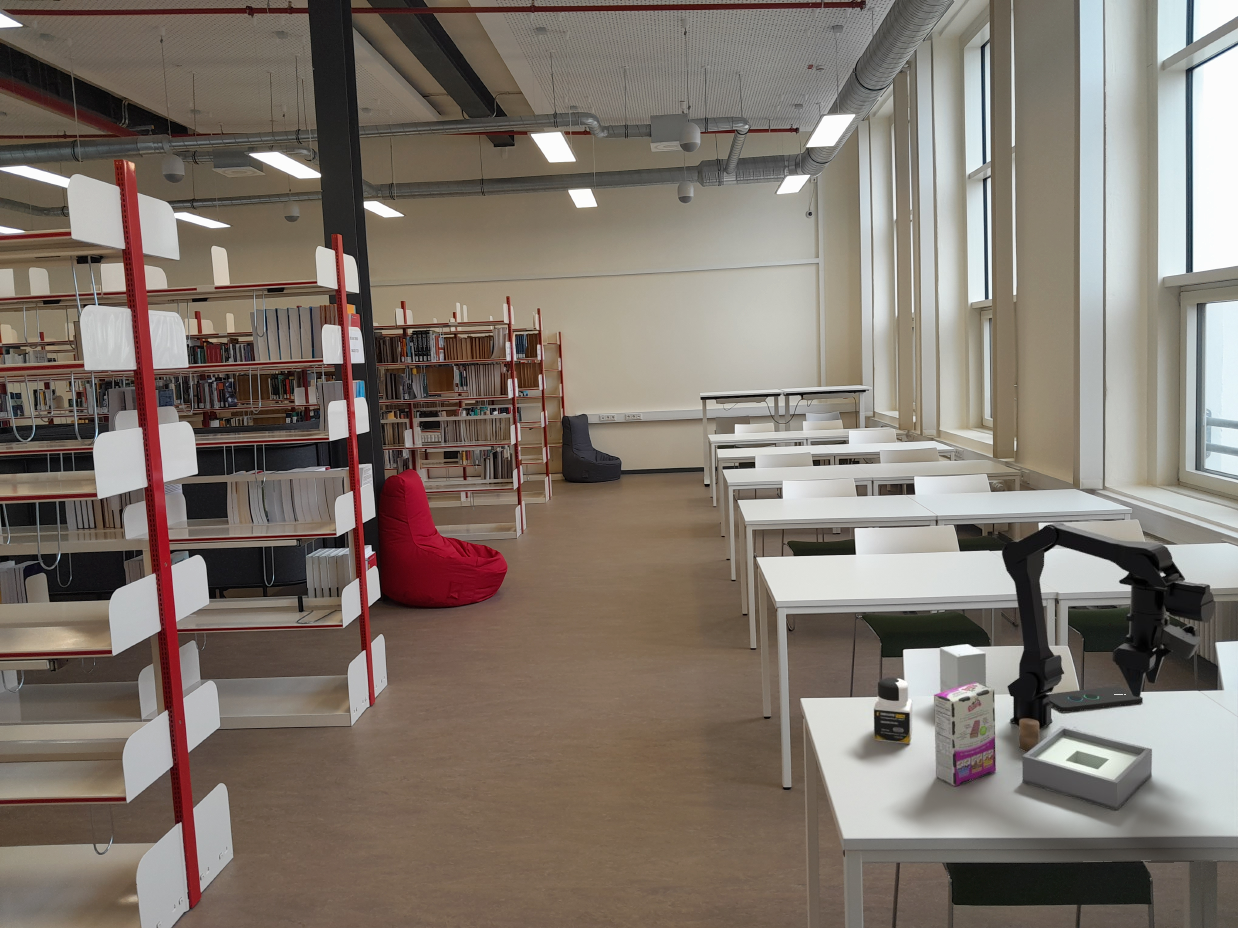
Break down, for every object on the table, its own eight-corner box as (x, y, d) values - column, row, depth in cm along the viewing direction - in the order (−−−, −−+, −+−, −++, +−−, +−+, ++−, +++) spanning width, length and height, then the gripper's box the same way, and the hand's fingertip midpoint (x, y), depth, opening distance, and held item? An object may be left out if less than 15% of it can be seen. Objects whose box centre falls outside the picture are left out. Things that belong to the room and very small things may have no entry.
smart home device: (1039, 693, 202) (1117, 684, 205) (1039, 701, 202) (1117, 692, 205) (1062, 707, 194) (1144, 697, 197) (1062, 714, 194) (1144, 705, 197)
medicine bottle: (874, 740, 184) (873, 684, 183) (877, 727, 191) (876, 673, 190) (910, 744, 182) (909, 688, 180) (912, 730, 188) (912, 676, 187)
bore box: (1022, 781, 164) (1022, 755, 163) (1061, 750, 176) (1061, 725, 175) (1116, 810, 152) (1117, 782, 152) (1151, 774, 164) (1151, 748, 164)
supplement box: (987, 707, 199) (987, 652, 197) (957, 711, 197) (956, 656, 196) (968, 696, 206) (968, 643, 205) (939, 699, 205) (938, 646, 203)
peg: (1016, 748, 178) (1016, 722, 177) (1023, 742, 180) (1023, 716, 179) (1034, 753, 175) (1034, 726, 174) (1042, 747, 177) (1042, 721, 177)
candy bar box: (975, 762, 172) (974, 680, 171) (996, 772, 168) (996, 688, 166) (933, 776, 167) (932, 692, 166) (954, 787, 163) (954, 701, 161)
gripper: (1182, 630, 156) (1178, 715, 158) (1210, 607, 169) (1206, 686, 171) (1113, 618, 164) (1109, 699, 166) (1144, 596, 177) (1141, 672, 179)
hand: (1144, 689), depth 170 cm, fingers open, 9 cm apart
